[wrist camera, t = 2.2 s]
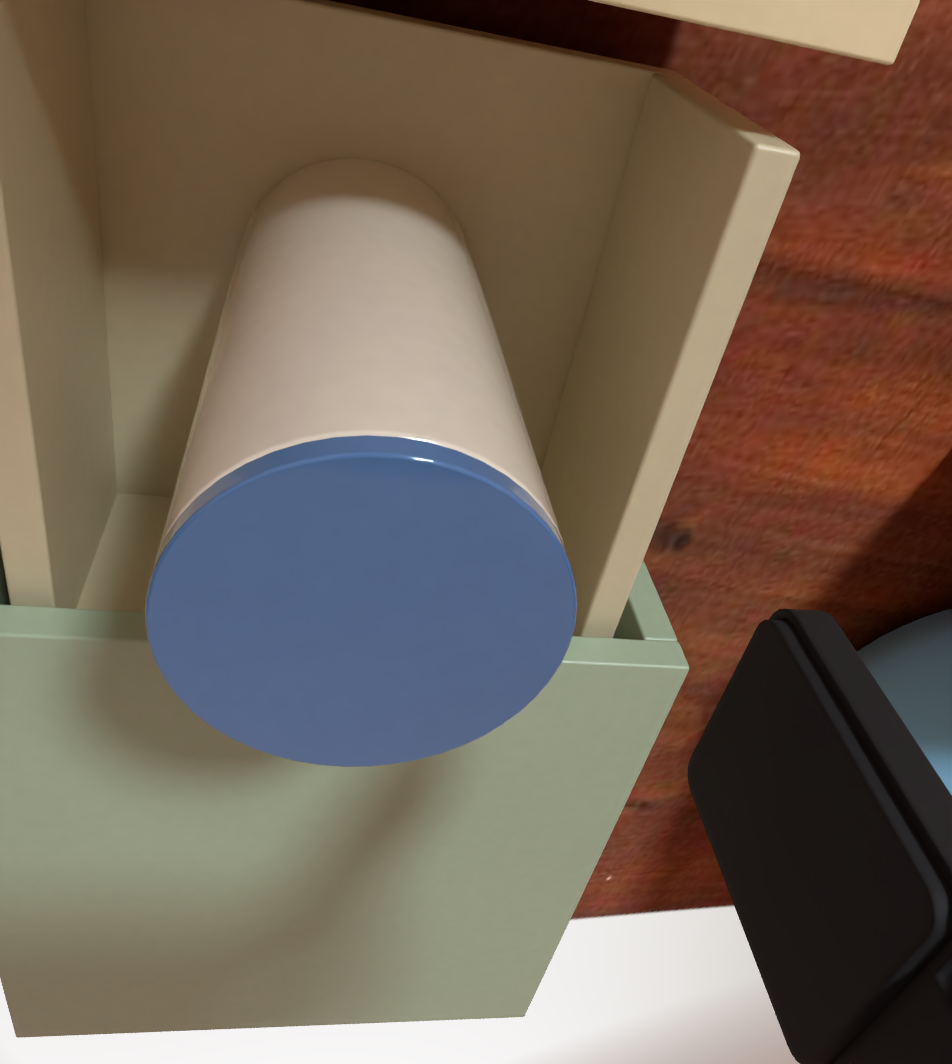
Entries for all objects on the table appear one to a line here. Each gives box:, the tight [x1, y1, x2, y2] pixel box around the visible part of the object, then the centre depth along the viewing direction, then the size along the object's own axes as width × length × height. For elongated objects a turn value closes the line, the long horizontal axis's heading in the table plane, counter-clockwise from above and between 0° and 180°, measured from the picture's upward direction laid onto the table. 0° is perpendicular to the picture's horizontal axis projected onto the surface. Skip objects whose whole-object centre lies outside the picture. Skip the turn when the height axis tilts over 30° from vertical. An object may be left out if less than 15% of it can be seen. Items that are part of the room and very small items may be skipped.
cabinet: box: [0, 546, 689, 1037], centre depth 24 cm, size 16×15×9 cm
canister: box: [145, 158, 577, 767], centre depth 15 cm, size 5×5×11 cm
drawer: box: [0, 0, 920, 638], centre depth 16 cm, size 19×13×7 cm
